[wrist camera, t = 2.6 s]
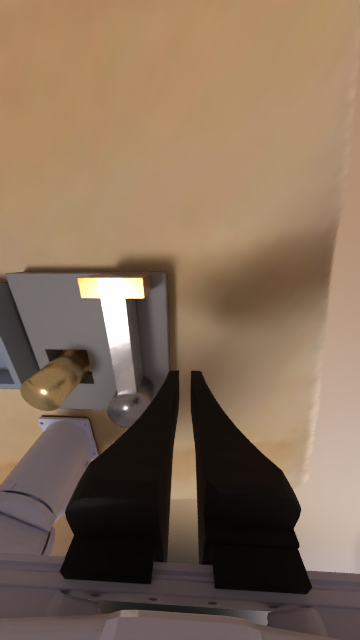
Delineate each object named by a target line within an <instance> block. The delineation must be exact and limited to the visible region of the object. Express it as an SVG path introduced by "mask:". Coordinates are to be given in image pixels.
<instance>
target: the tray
mask: <svg viewBox="0 0 360 640" xmlns="http://www.w3.org/2000/svg"><path fill="white" fill-rule="evenodd" d="M39 370H40V368H39V365H38V362H37V360H36V357H35V354H34V351H33V349H32V346H31V343H30V340H29V338H28V335H27V332H26V330H25V327H24V324H23V321H22V319H21V316H20V313H19V311H18V308H17V305H16V302H15V300H14V297H13V294H12V292H11V289H10V286H9V283H0V389H21V385H22V384H23V383H24V382H25V381H26V380H28V379H29V378H30V377H32V376H33V375H34V374H35V373H37V372H38V371H39Z"/></svg>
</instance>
